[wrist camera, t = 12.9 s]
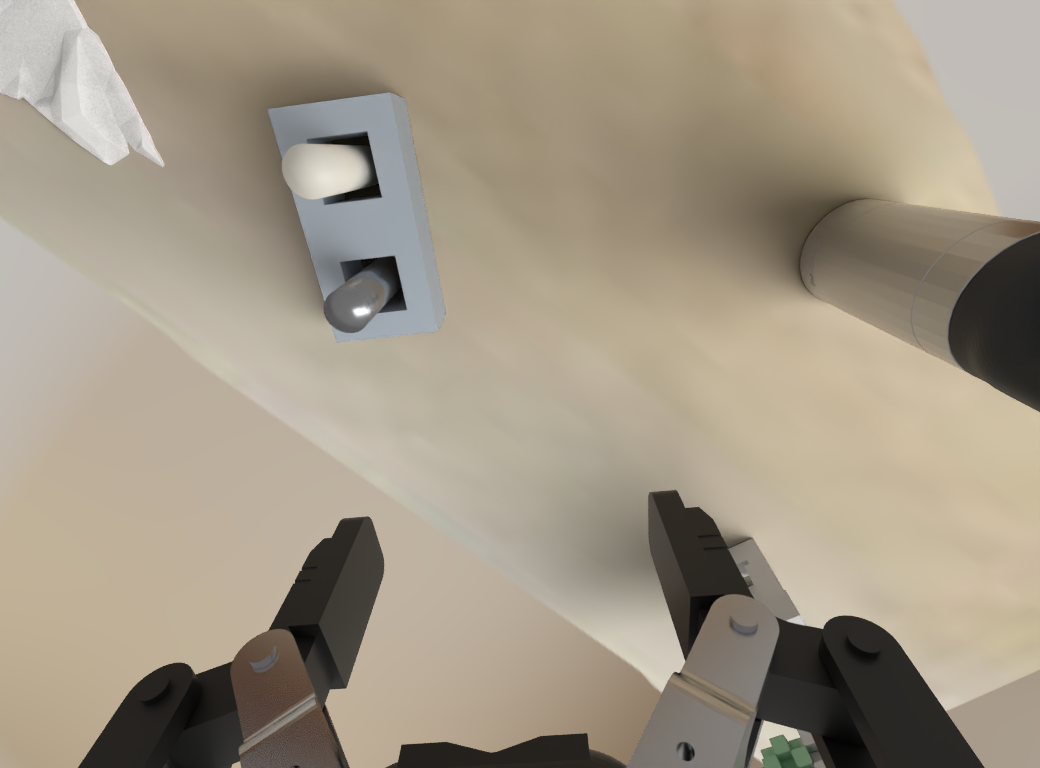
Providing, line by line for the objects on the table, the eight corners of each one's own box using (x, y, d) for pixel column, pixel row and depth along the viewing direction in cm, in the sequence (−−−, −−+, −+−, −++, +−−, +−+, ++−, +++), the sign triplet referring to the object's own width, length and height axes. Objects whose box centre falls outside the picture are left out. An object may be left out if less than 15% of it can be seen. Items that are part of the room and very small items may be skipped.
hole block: (405, 99, 39) (389, 92, 34) (445, 314, 47) (437, 331, 42) (296, 113, 39) (267, 109, 35) (354, 324, 47) (336, 342, 43)
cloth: (212, 125, 40) (196, 124, 38) (123, 234, 44) (104, 238, 42) (-124, -220, 32) (-168, -246, 30) (-198, -48, 36) (-242, -60, 34)
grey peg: (402, 253, 44) (363, 286, 33) (409, 287, 46) (374, 330, 35) (368, 257, 44) (317, 291, 34) (376, 291, 46) (331, 335, 35)
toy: (640, 519, 57) (744, 847, 30) (720, 481, 55) (911, 801, 28) (738, 659, 68) (880, 994, 41) (808, 632, 66) (1009, 970, 39)
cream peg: (378, 143, 40) (325, 140, 30) (387, 184, 42) (339, 196, 31) (341, 148, 40) (274, 147, 30) (351, 188, 42) (291, 202, 31)
